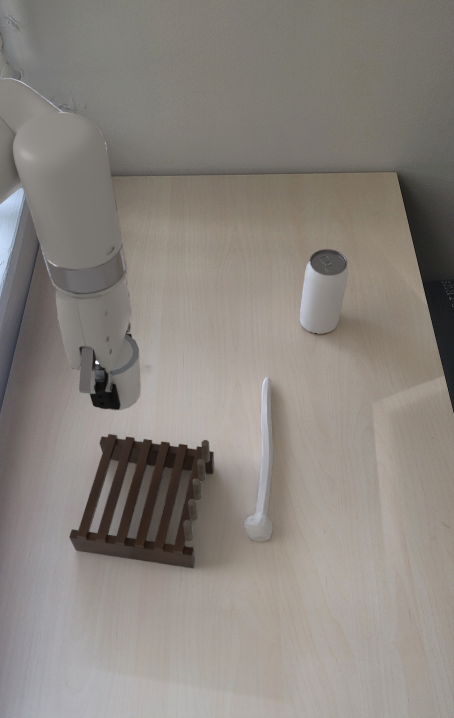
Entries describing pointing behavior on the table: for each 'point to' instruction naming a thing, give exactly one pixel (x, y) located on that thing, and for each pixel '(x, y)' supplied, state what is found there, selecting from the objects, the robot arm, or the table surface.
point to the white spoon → (263, 473)
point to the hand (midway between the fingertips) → (114, 380)
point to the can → (323, 291)
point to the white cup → (126, 373)
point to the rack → (159, 457)
